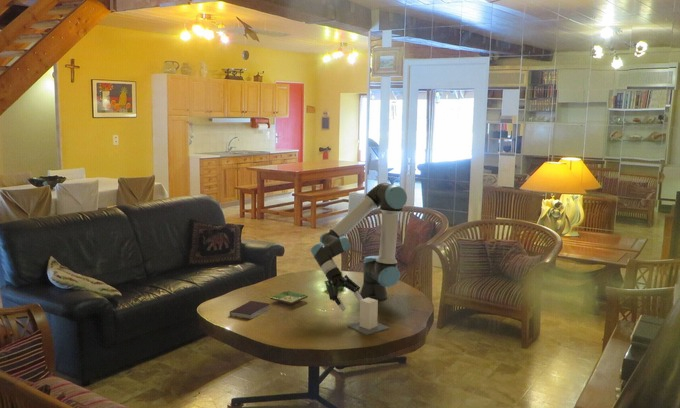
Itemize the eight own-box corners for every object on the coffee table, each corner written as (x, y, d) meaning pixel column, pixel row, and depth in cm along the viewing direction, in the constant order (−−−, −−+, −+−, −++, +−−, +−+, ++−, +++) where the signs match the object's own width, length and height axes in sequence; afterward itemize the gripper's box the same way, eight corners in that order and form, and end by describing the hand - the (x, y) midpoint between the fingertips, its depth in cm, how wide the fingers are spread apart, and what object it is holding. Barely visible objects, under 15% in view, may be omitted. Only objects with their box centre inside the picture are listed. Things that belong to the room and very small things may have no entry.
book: (229, 316, 297) (229, 310, 297) (250, 305, 315) (250, 299, 314) (250, 320, 292) (250, 314, 292) (270, 309, 310) (270, 303, 309)
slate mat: (370, 320, 293) (370, 319, 293) (389, 328, 282) (389, 327, 282) (347, 326, 285) (347, 325, 285) (366, 335, 274) (366, 333, 274)
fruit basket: (337, 285, 350) (337, 267, 349) (348, 289, 344) (348, 270, 343) (323, 289, 342) (323, 270, 341) (334, 293, 336) (334, 274, 334)
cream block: (367, 323, 288) (368, 297, 285) (377, 326, 283) (377, 300, 281) (359, 326, 283) (360, 300, 281) (369, 329, 279) (369, 303, 277)
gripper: (344, 270, 307) (365, 304, 300) (309, 280, 289) (332, 316, 282) (351, 262, 303) (374, 296, 295) (317, 271, 285) (340, 308, 277)
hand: (353, 306), depth 289 cm, fingers open, 13 cm apart
